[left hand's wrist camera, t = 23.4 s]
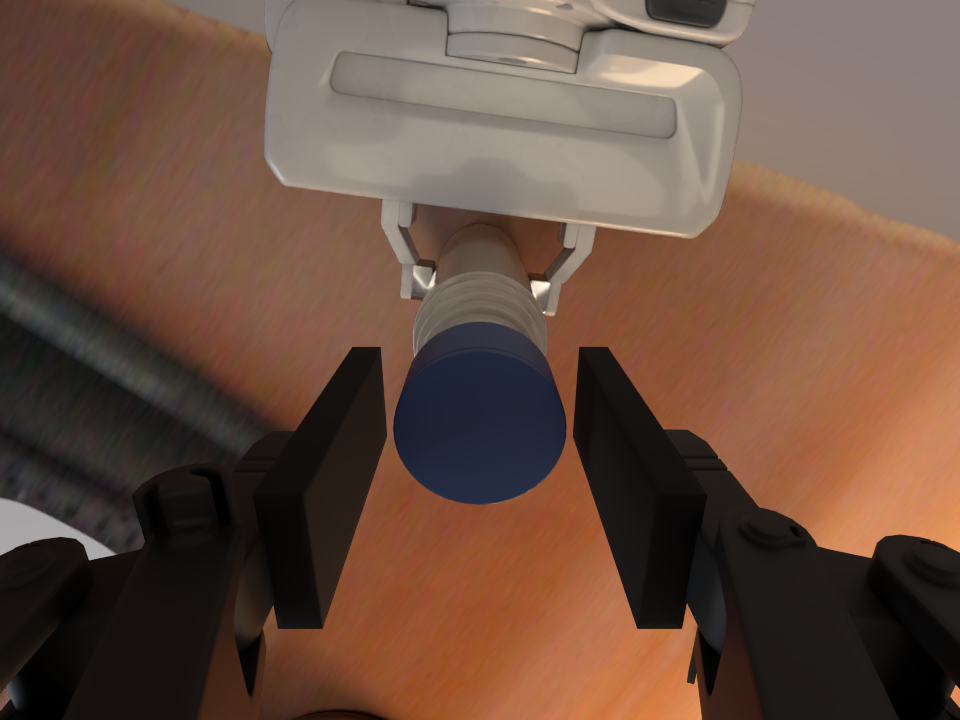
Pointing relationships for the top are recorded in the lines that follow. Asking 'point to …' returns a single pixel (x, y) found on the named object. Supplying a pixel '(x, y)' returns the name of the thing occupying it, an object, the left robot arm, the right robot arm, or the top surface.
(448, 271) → the bottle
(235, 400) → the top surface
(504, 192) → the right robot arm
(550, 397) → the cap
